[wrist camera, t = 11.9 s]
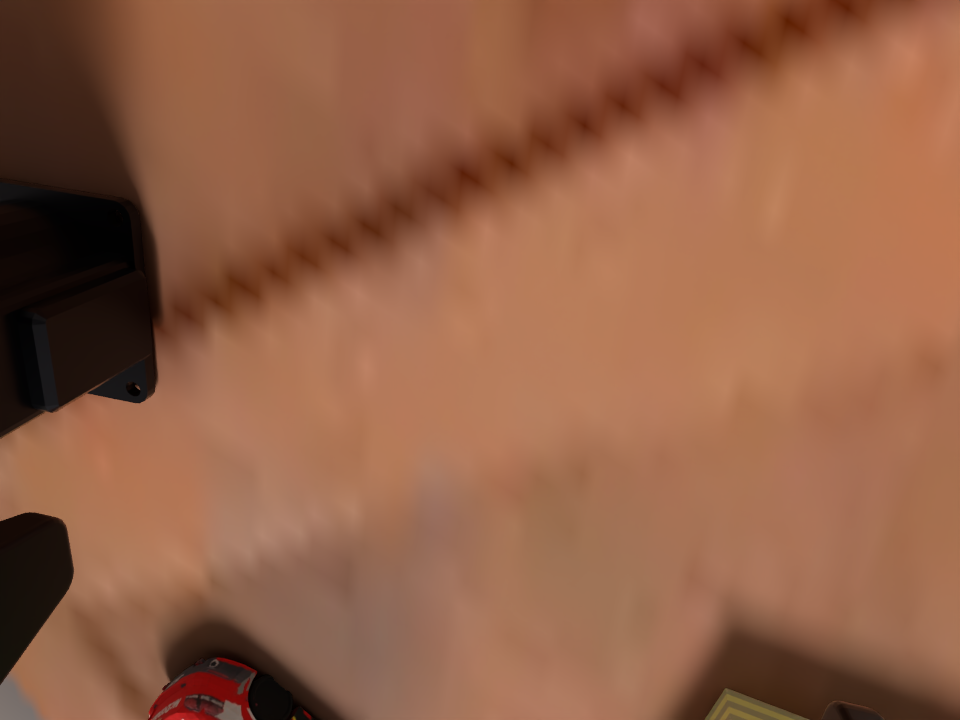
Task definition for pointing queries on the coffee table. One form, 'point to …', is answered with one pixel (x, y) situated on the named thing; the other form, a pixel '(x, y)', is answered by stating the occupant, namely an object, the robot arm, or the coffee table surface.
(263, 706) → the race car
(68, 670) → the coffee table surface
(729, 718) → the hardcover book
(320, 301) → the coffee table surface
